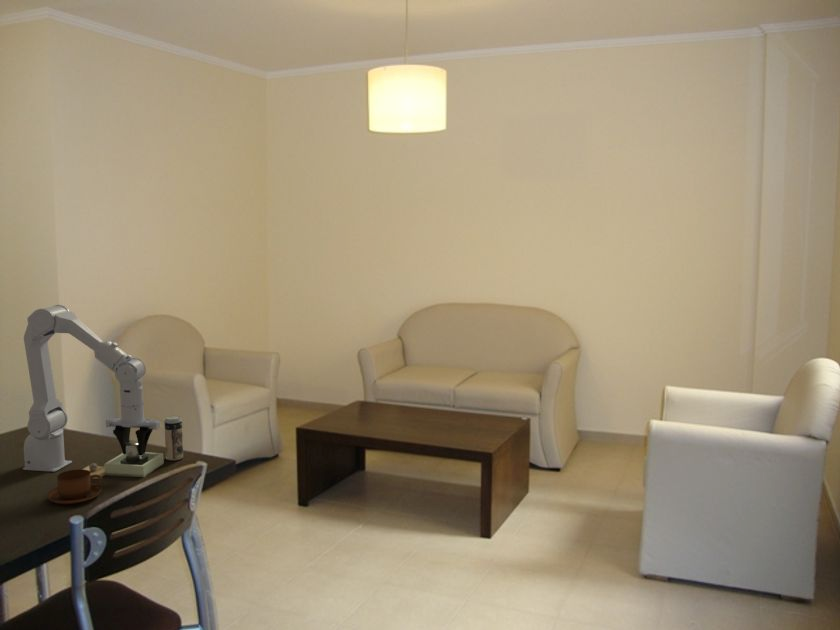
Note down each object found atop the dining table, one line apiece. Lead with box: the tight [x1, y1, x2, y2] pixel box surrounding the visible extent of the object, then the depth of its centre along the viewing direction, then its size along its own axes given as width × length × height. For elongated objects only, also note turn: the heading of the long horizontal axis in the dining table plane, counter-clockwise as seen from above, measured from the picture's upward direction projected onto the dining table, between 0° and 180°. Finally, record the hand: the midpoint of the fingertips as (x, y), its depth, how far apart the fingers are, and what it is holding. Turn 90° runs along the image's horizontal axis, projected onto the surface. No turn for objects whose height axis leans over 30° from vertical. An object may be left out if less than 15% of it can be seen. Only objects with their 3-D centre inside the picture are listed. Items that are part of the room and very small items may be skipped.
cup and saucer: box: [46, 468, 103, 505], centre depth 183 cm, size 12×12×6 cm
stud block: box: [81, 462, 106, 480], centre depth 200 cm, size 7×7×3 cm
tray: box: [103, 451, 165, 478], centre depth 204 cm, size 11×11×3 cm
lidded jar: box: [164, 415, 184, 462], centre depth 212 cm, size 5×5×12 cm
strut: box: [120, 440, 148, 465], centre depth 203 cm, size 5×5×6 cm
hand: (134, 453), depth 203 cm, fingers closed on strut, 4 cm apart
